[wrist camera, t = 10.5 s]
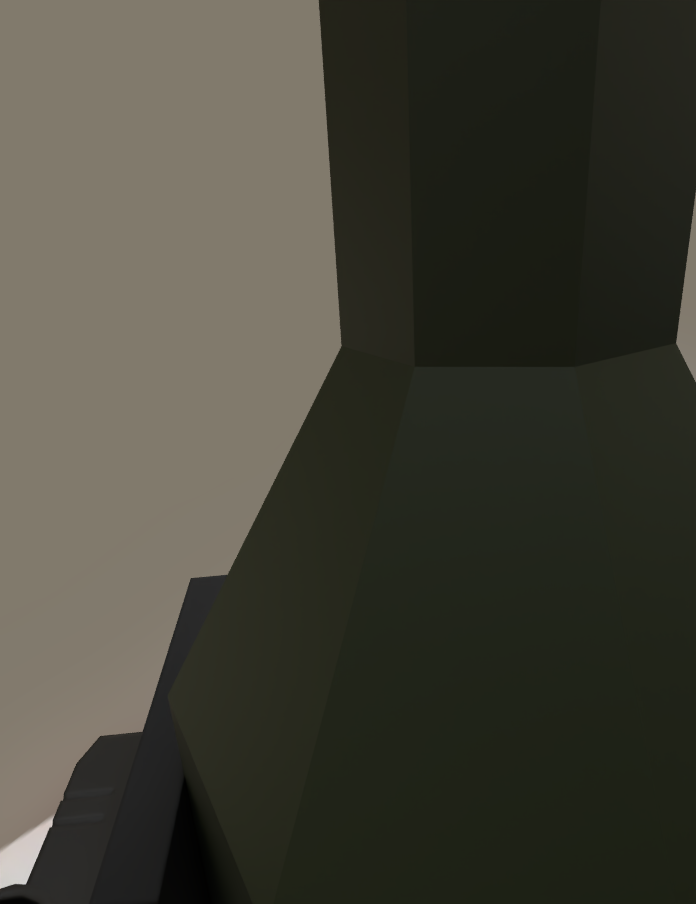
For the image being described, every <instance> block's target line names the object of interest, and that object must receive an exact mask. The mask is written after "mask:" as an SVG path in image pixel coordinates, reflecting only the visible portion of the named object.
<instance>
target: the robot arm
mask: <svg viewBox="0 0 696 904" xmlns="http://www.w3.org/2000/svg"><path fill="white" fill-rule="evenodd" d="M226 577H227V575H221V576H210V577H199V578H191V580H190V583H189V586H188V589H187V592H186V595H185V599H184V602H183V605H182V608H181V611H180V615H179V618H178V621H177V624H176V628H175V631H174V634H173V637H172V640H171V643H170V646H169V650H168V653H167V656H166V659H165V663H164V666H163V669H162V672H161V675H160V678H159V682H158V685H157V688H156V691H155V695H154V698H153V701H152V704H151V707H150V710H149V714H148V717H147V720H146V723H145V726H144V729H143V732H137V733H127V734H118V735H107V736H100V737H99V738H98V739H97V741H96V742H95V743H94V744H93V745H92V746H91V747H90V749H89V750H88V751H87V752H86V753H85V755H84V756H83V757H82V758H81V759H80V760H79V762H77V764H76V766H75V768H74V771H73V773H72V776H71V778H70V781H69V783H68V785H67V788H66V790H65V792H64V799H63V801H61V802H60V805H59V807H58V809H57V812H56V814H55V816H54V819H53V825H52V827H51V828H49V831H48V833H47V836H46V838H45V840H44V843H43V845H42V847H41V850H40V852H39V855H38V857H37V859H36V862H35V864H34V867H33V869H32V871H31V874H30V876H29V879H28V881H27V883H26V885H22V884H14V885H11V886H8V887H4V888H1V889H0V904H211V899H210V894H209V890H208V885H207V880H206V876H205V871H204V866H203V861H202V857H201V852H200V847H199V842H198V838H197V833H196V828H195V823H194V819H193V814H192V809H191V804H190V800H189V795H188V790H187V786H186V781H185V776H184V772H183V767H182V762H181V757H180V753H179V748H178V743H177V739H176V734H175V729H174V724H173V720H172V715H171V710H170V705H169V701H168V694H169V692H170V690H171V688H172V686H173V684H174V682H175V680H176V678H177V676H178V673H179V671H180V669H181V667H182V665H183V663H184V661H185V659H186V657H187V655H188V653H189V651H190V649H191V647H192V645H193V643H194V641H195V639H196V637H197V635H198V633H199V631H200V629H201V627H202V625H203V623H204V621H205V619H206V617H207V615H208V613H209V611H210V609H211V607H212V605H213V603H214V601H215V599H216V597H217V595H218V593H219V591H220V589H221V587H222V585H223V583H224V581H225V579H226Z"/></svg>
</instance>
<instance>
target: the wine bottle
mask: <svg viewBox="0 0 696 904" xmlns="http://www.w3.org/2000/svg"><path fill="white" fill-rule="evenodd" d="M319 10H320V24H321V40H322V55H323V70H324V84H325V101H326V114H327V115H326V116H327V131H328V146H329V161H330V177H331V192H332V206H333V221H334V237H335V253H336V268H337V283H338V298H339V311H340V329H341V344H342V347H341V349H340V351H339V353H338V355H337V357H336V359H335V361H334V363H333V365H332V367H331V369H330V371H329V373H328V375H327V377H326V379H325V381H324V383H323V385H322V387H321V389H320V391H319V393H318V395H317V397H316V399H315V401H314V403H313V405H312V407H311V409H310V411H309V413H308V415H307V417H306V419H305V421H304V423H303V425H302V427H301V429H300V431H299V433H298V435H297V437H296V439H295V441H294V443H293V445H292V447H291V449H290V451H289V453H288V455H287V457H286V459H285V461H284V463H283V465H282V467H281V469H280V471H279V473H278V475H277V477H276V479H275V481H274V483H273V485H272V487H271V489H270V491H269V493H268V495H267V497H266V499H265V501H264V503H263V505H262V507H261V509H260V511H259V513H258V515H257V517H256V519H255V521H254V523H253V525H252V527H251V529H250V531H249V533H248V535H247V537H246V539H245V541H244V543H243V545H242V547H241V549H240V551H239V553H238V555H237V557H236V559H235V561H234V563H233V565H232V567H231V569H230V571H229V573H228V575H227V577H226V579H225V581H224V583H223V585H222V587H221V589H220V591H219V593H218V595H217V597H216V599H215V601H214V603H213V605H212V607H211V609H210V611H209V613H208V615H207V617H206V619H205V621H204V623H203V625H202V627H201V629H200V631H199V633H198V635H197V637H196V639H195V641H194V643H193V645H192V647H191V649H190V651H189V653H188V655H187V657H186V659H185V661H184V663H183V665H182V667H181V669H180V671H179V673H178V676H177V678H176V680H175V682H174V684H173V686H172V688H171V690H170V692H169V694H168V701H169V705H170V710H171V715H172V720H173V724H174V729H175V734H176V739H177V743H178V748H179V753H180V757H181V762H182V767H183V772H184V776H185V781H186V786H187V790H188V795H189V800H190V804H191V809H192V814H193V819H194V823H195V828H196V833H197V838H198V842H199V847H200V852H201V857H202V861H203V866H204V871H205V876H206V880H207V885H208V890H209V894H210V899H211V904H696V382H695V380H694V378H693V376H692V374H691V372H690V370H689V368H688V366H687V364H686V362H685V360H684V358H683V356H682V354H681V352H680V350H679V348H678V346H677V345H676V339H677V331H678V323H679V315H680V308H681V300H682V293H683V285H684V277H685V270H686V262H687V254H688V247H689V239H690V231H691V223H692V216H693V207H694V199H695V192H696V0H319Z"/></svg>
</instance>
